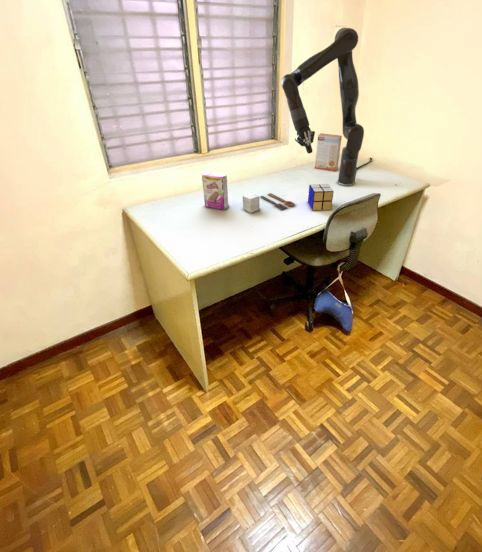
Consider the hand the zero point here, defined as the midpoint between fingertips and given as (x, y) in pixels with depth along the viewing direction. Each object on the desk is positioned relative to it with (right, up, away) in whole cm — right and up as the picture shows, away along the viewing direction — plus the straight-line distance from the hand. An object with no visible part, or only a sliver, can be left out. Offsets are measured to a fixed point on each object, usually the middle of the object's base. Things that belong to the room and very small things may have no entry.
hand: (310, 152), depth 172 cm
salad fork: (-19, -26, 0) cm, 33 cm away
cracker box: (+16, +6, +45) cm, 48 cm away
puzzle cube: (+4, -28, -2) cm, 29 cm away
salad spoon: (-15, -24, +3) cm, 29 cm away
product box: (-30, -31, -6) cm, 44 cm away
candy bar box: (-48, -29, -5) cm, 56 cm away
